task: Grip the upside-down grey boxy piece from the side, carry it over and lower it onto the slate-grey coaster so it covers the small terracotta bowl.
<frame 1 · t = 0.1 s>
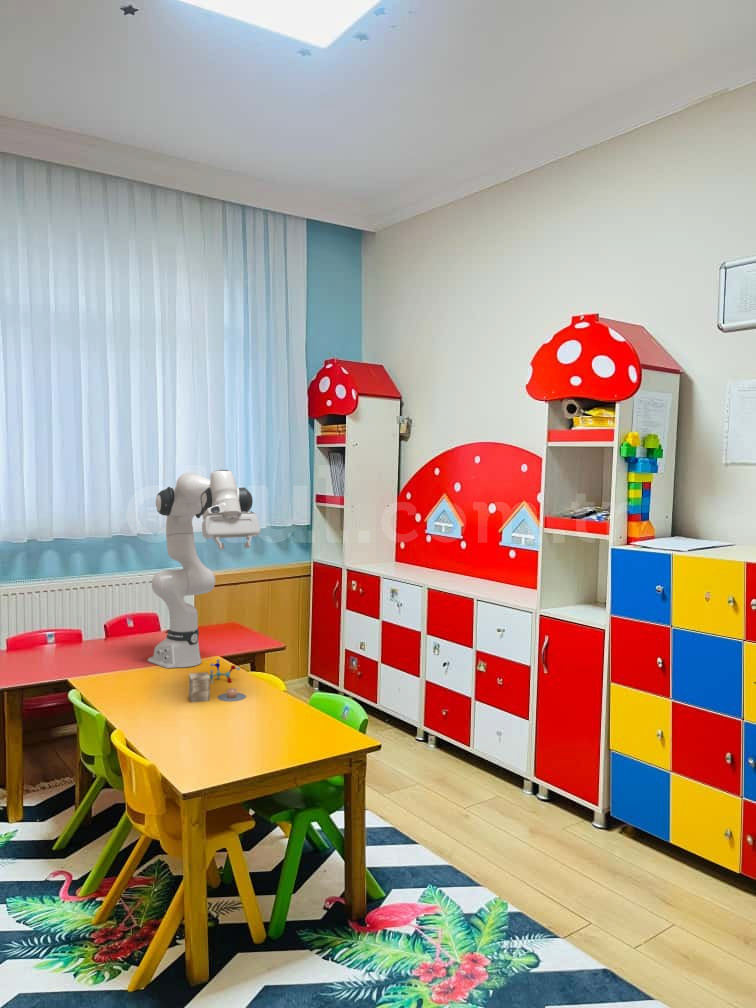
hand: (234, 548, 271), 54 cm above the table, tool tilted 30°, fingers open, 8 cm apart
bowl: (231, 696, 278), point 1 cm above the table, touching coaster
coaster: (231, 698, 279), on the table
molecular model: (219, 682, 298), on the table
grey boxy piece: (199, 700, 276), on the table
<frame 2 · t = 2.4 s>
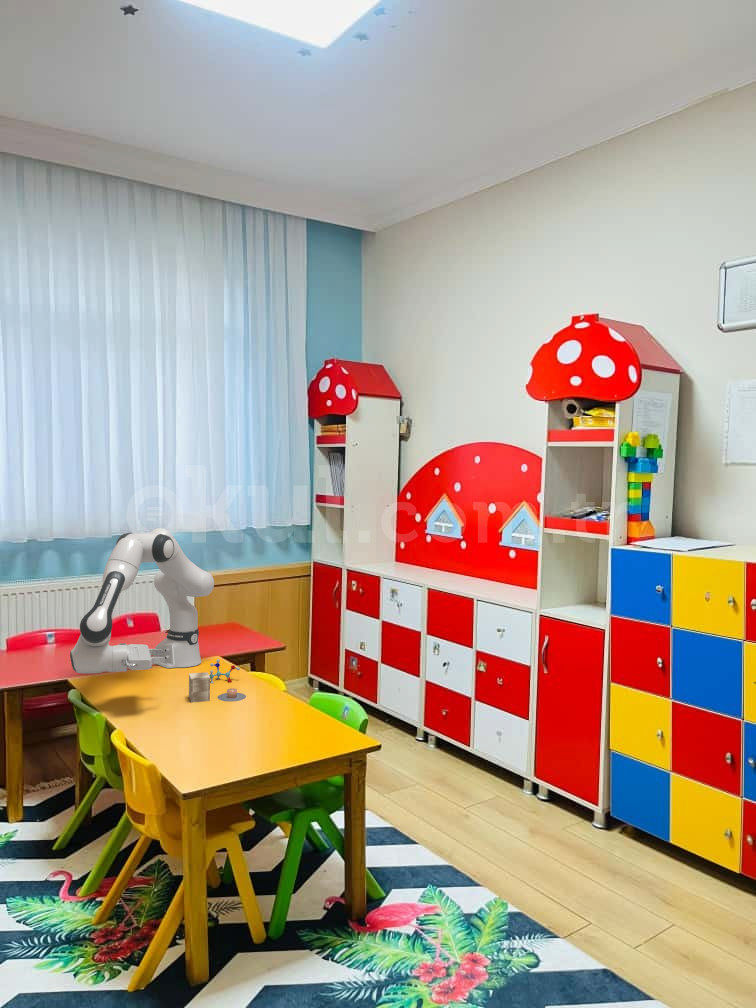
hand: (163, 655, 270), 17 cm above the table, tool horizontal, fingers open, 8 cm apart
nothing on the table moved.
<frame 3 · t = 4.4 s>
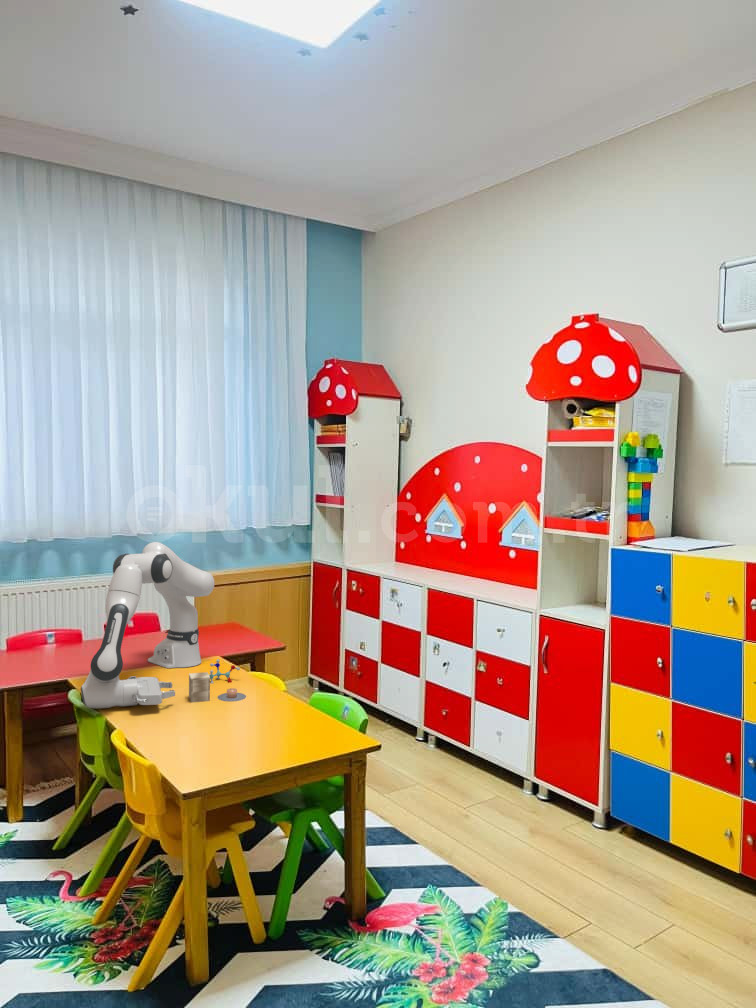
hand: (173, 688, 272), 5 cm above the table, tool horizontal, fingers open, 8 cm apart
nothing on the table moved.
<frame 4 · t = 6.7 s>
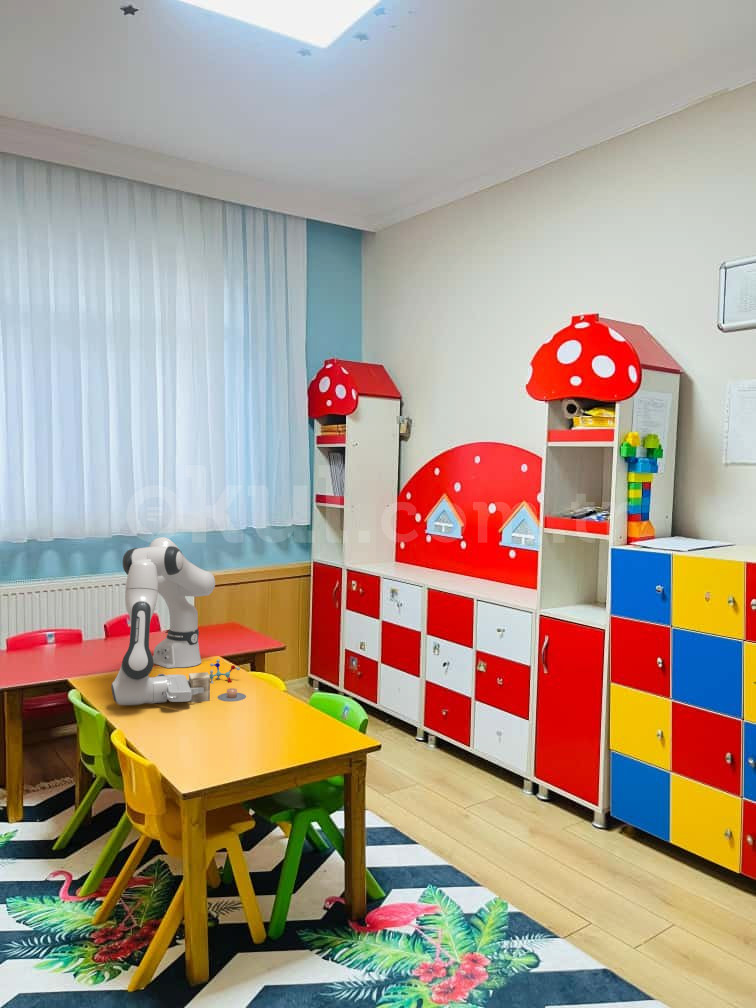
hand: (201, 686, 276), 5 cm above the table, tool horizontal, fingers closed on grey boxy piece, 6 cm apart
grey boxy piece: (199, 700, 276), on the table, touching gripper
everything else where it was.
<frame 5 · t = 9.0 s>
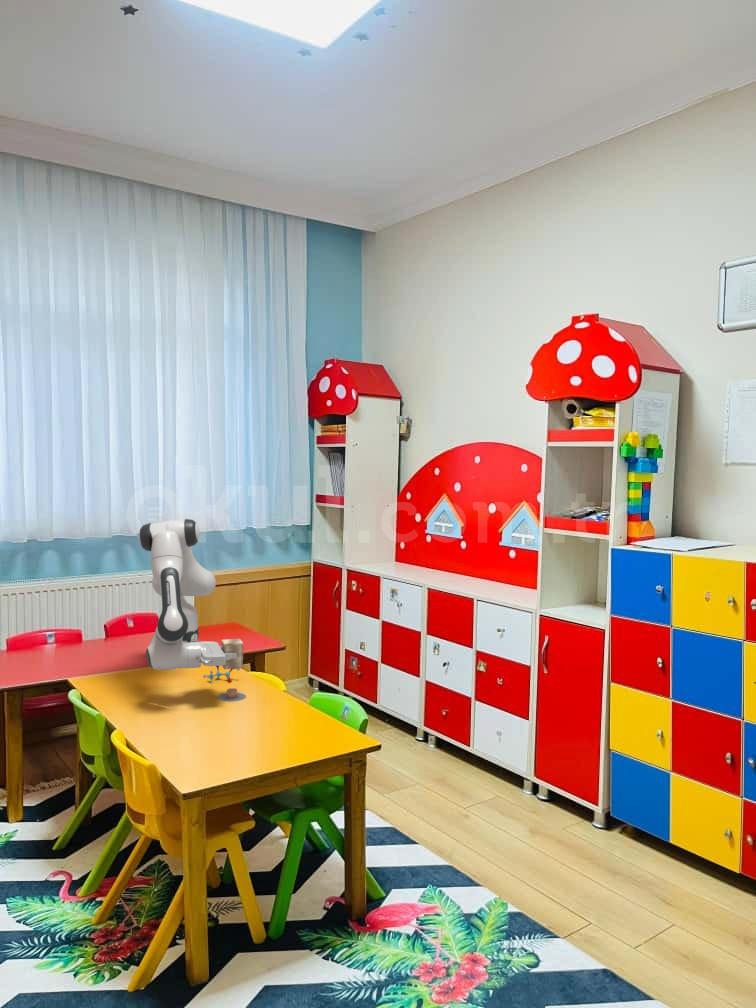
hand: (234, 652, 278), 17 cm above the table, tool horizontal, fingers closed on grey boxy piece, 6 cm apart
grey boxy piece: (232, 666, 278), point 12 cm above the table, touching gripper
everything else where it was.
when the fingers open (7 cm above the table, at t = 11.6 s): grey boxy piece drops 1 cm, resting on coaster.
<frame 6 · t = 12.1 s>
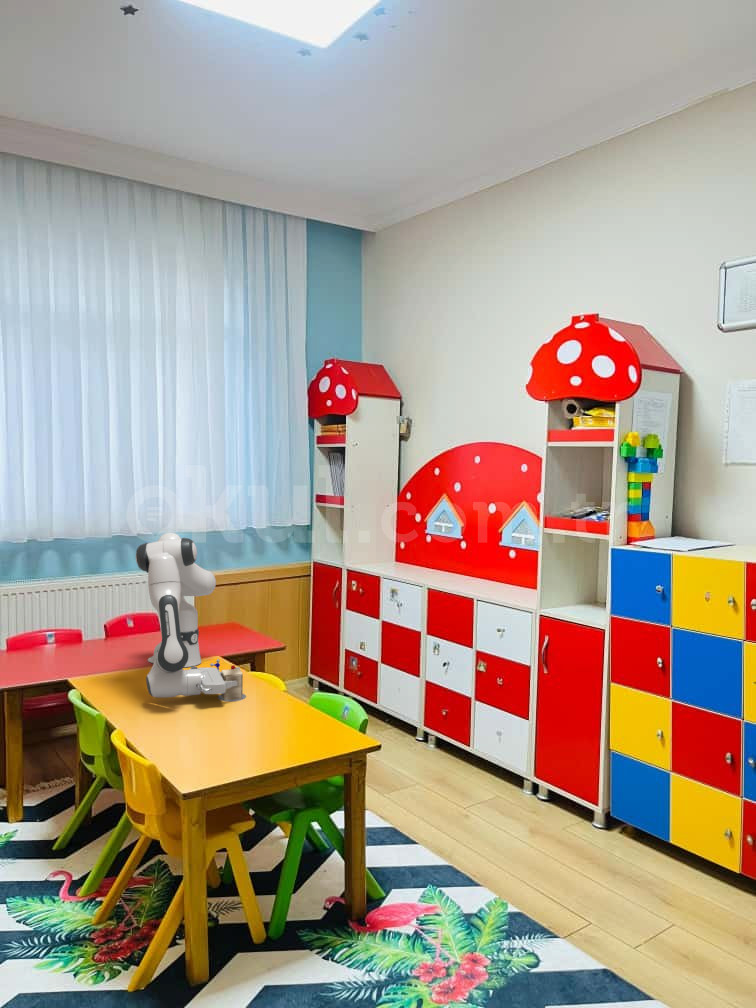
hand: (234, 679, 278), 7 cm above the table, tool horizontal, fingers open, 8 cm apart
grey boxy piece: (231, 696, 279), point 1 cm above the table, touching coaster
everything else where it was.
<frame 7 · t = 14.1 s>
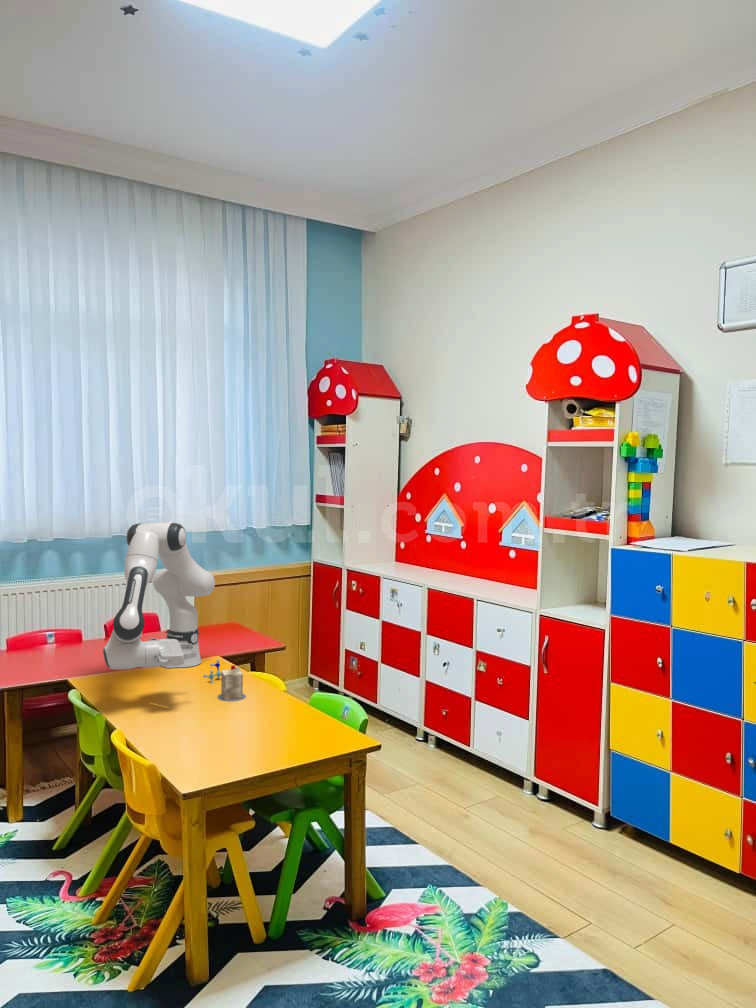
hand: (194, 650, 275), 18 cm above the table, tool horizontal, fingers open, 8 cm apart
nothing on the table moved.
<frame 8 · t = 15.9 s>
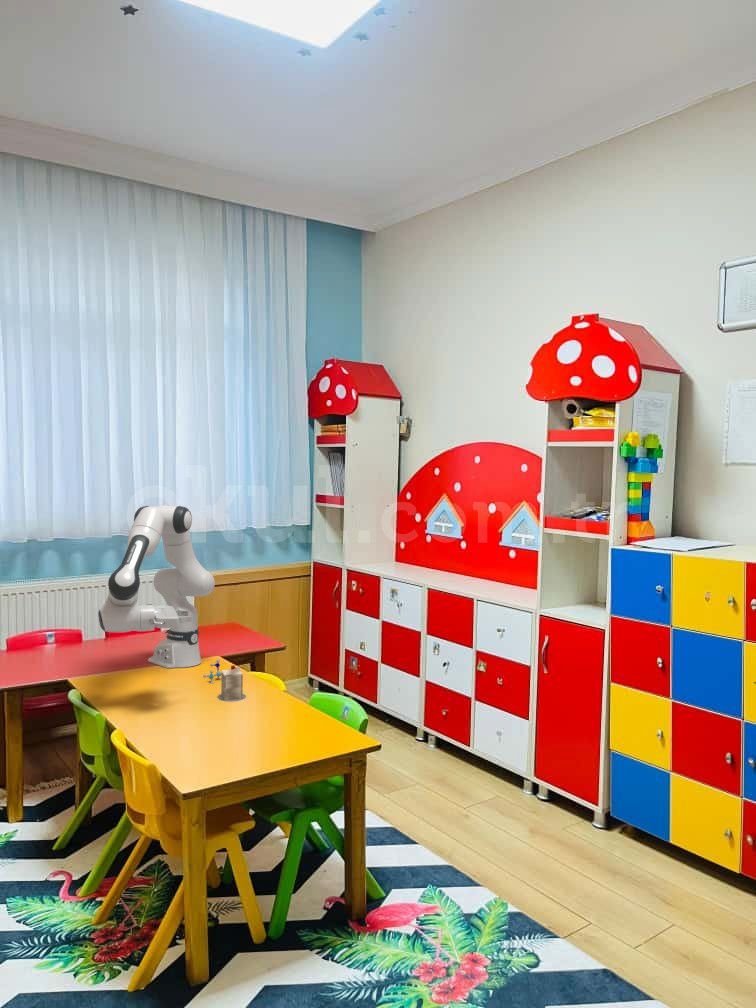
hand: (189, 615, 274), 30 cm above the table, tool horizontal, fingers open, 8 cm apart
nothing on the table moved.
at the end: grey boxy piece 0.1 cm from the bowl (horizontally); grey boxy piece point 0.6 cm above the table; grey boxy piece tilted 0° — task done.
